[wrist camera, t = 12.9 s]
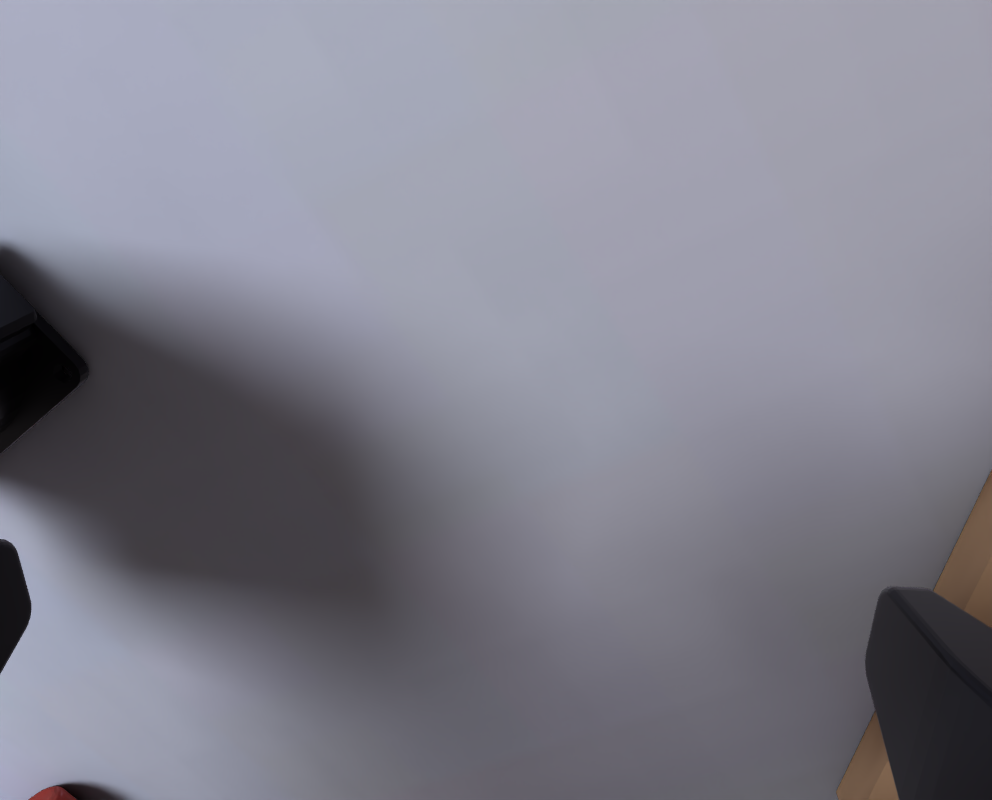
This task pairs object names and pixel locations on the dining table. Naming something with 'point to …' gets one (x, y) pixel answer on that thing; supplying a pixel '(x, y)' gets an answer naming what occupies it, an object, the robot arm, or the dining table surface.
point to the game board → (970, 586)
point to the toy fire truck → (53, 794)
